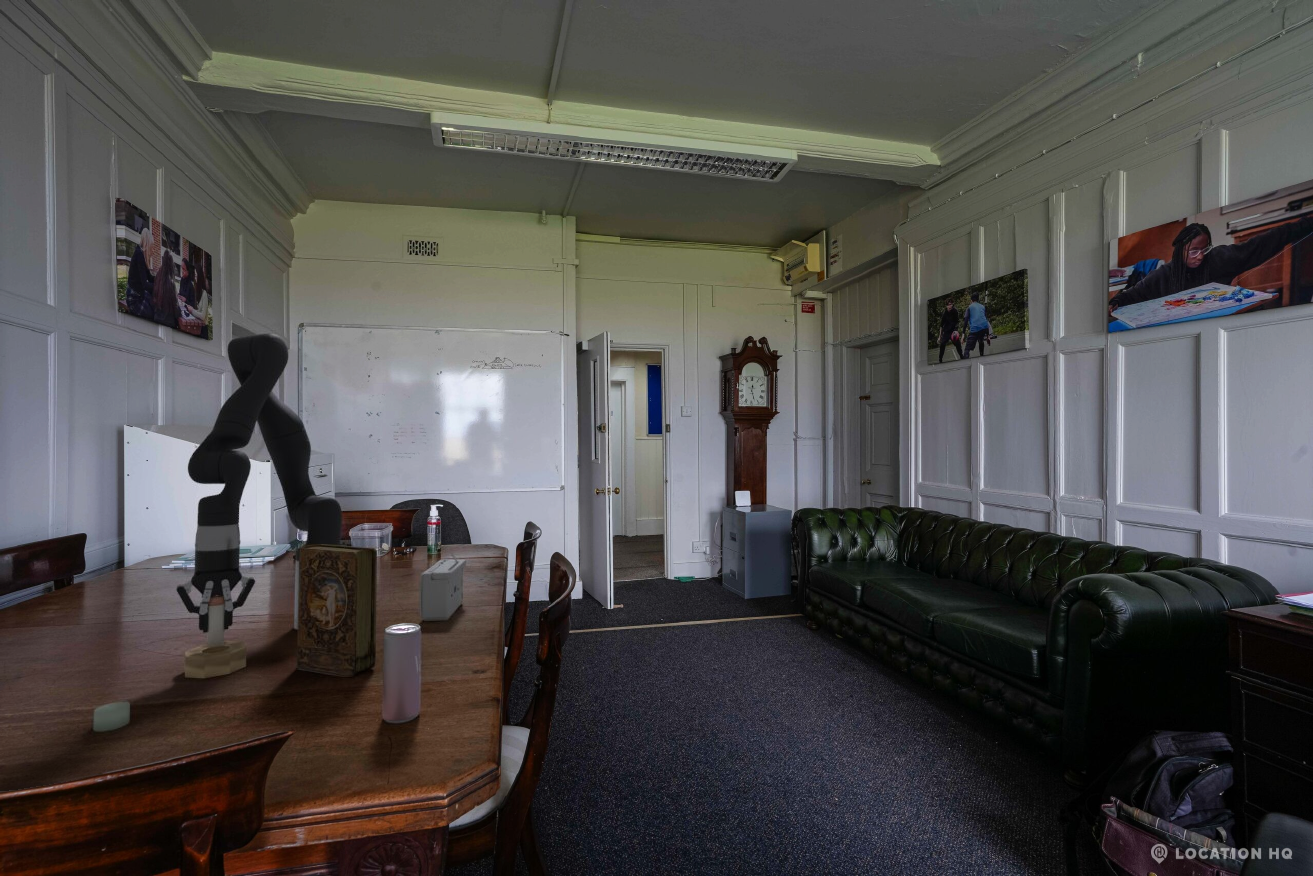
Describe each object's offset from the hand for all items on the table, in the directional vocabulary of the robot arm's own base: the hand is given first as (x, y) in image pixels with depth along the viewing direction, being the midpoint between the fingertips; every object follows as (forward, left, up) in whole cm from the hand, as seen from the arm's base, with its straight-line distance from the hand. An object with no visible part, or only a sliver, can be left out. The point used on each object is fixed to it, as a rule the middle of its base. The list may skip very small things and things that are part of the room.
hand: (215, 629), depth 125 cm
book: (-19, +15, -8) cm, 26 cm away
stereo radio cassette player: (-53, -15, -8) cm, 56 cm away
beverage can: (-23, +47, -8) cm, 53 cm away
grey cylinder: (0, 0, -3) cm, 3 cm away
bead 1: (+15, +21, -8) cm, 27 cm away
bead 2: (0, 0, -8) cm, 8 cm away
